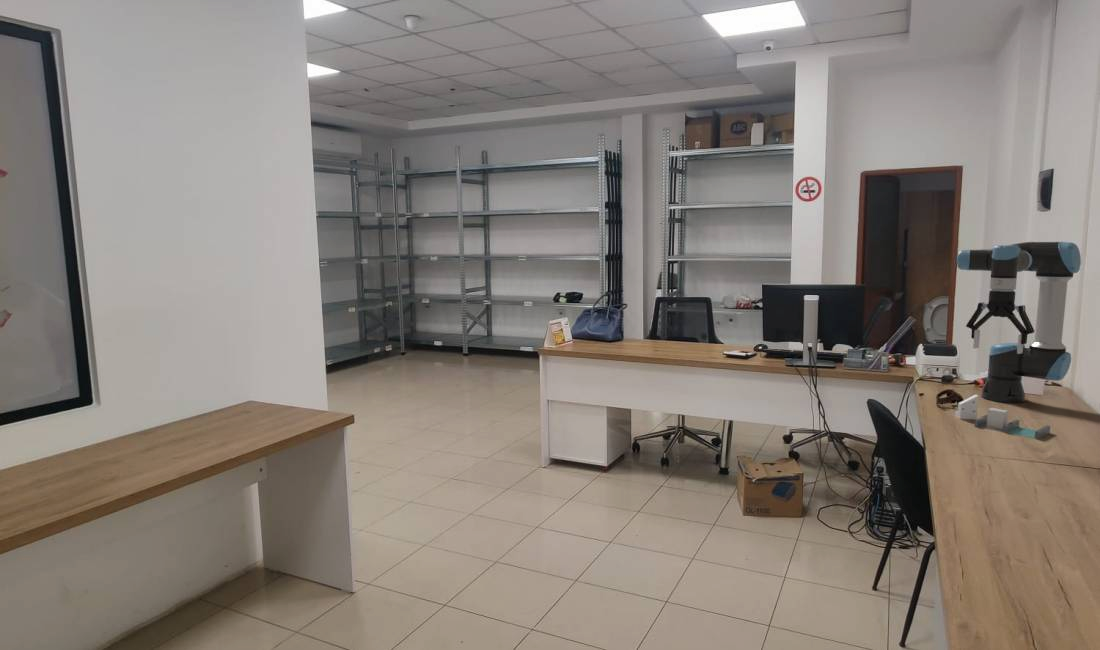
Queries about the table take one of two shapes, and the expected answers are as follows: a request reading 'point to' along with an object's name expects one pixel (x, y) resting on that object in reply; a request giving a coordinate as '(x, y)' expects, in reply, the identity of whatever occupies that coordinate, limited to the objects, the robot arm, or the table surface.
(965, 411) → the white wedge bracket
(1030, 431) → the two-compartment cubby shelf
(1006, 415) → the white rectangular block
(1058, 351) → the robot arm
